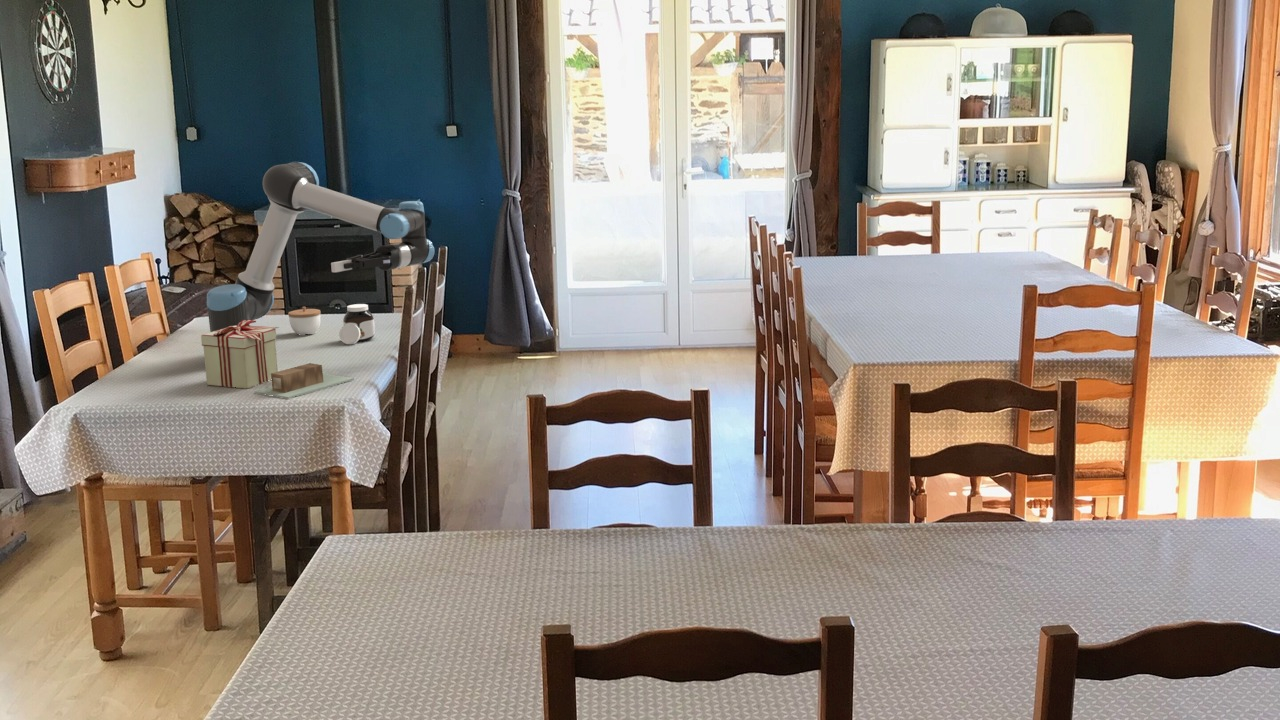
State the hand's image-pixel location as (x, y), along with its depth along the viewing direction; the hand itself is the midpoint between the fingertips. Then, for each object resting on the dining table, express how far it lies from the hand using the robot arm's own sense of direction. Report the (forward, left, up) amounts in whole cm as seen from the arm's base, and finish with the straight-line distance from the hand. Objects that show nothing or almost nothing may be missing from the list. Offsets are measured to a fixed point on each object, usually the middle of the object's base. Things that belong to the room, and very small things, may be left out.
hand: (333, 267), depth 351 cm
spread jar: (+8, +50, -32) cm, 60 cm away
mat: (-11, -9, -32) cm, 35 cm away
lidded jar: (-8, +71, -32) cm, 78 cm away
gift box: (-26, +5, -32) cm, 42 cm away
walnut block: (-7, -6, -29) cm, 30 cm away
